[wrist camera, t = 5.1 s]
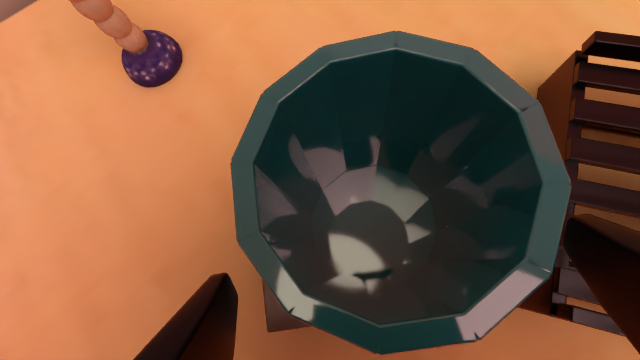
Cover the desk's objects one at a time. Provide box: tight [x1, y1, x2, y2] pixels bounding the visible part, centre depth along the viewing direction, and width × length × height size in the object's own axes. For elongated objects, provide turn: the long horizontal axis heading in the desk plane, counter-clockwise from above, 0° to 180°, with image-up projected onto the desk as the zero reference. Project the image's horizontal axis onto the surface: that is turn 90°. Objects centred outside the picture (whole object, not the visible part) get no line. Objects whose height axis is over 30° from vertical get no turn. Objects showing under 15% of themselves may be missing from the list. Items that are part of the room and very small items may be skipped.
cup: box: [231, 31, 571, 355], centre depth 11 cm, size 6×6×9 cm
